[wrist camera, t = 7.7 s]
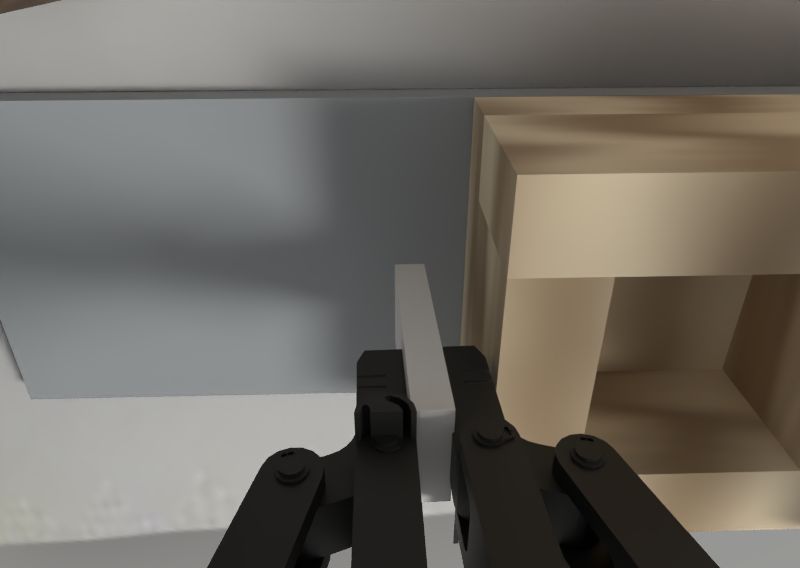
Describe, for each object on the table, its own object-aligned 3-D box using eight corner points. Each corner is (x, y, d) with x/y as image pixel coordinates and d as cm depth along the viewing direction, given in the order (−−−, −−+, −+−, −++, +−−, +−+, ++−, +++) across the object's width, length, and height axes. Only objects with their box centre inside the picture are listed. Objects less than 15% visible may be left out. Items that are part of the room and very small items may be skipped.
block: (457, 391, 24) (482, 537, 18) (474, 97, 18) (517, 174, 12) (742, 385, 24) (854, 527, 18) (844, 94, 18) (1051, 167, 13)
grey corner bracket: (43, 382, 24) (-176, 680, 15) (-63, 93, 19) (-526, 269, 9) (778, 367, 25) (1026, 642, 15) (885, 85, 19) (1379, 240, 10)
